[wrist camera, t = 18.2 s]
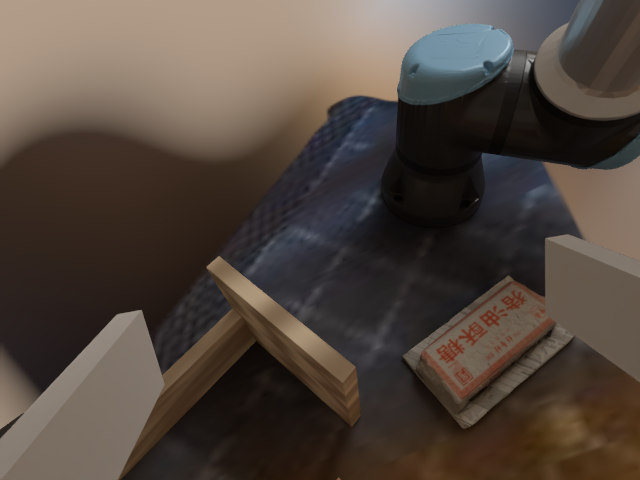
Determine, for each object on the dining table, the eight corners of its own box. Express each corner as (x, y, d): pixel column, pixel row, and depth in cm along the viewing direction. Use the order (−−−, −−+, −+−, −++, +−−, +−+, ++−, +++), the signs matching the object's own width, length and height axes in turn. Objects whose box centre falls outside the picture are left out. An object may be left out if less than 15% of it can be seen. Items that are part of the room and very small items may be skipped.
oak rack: (360, 415, 44) (355, 367, 31) (155, 685, 33) (16, 784, 20) (256, 324, 51) (218, 255, 39) (63, 518, 41) (-79, 513, 28)
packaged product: (473, 424, 38) (403, 344, 43) (464, 434, 42) (400, 359, 47) (593, 319, 43) (517, 258, 48) (575, 336, 47) (506, 279, 52)
